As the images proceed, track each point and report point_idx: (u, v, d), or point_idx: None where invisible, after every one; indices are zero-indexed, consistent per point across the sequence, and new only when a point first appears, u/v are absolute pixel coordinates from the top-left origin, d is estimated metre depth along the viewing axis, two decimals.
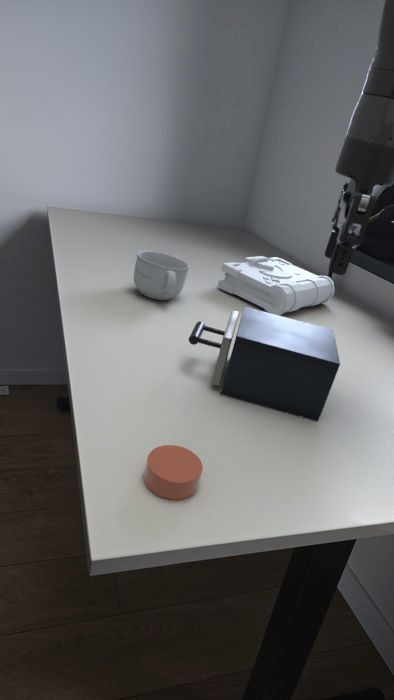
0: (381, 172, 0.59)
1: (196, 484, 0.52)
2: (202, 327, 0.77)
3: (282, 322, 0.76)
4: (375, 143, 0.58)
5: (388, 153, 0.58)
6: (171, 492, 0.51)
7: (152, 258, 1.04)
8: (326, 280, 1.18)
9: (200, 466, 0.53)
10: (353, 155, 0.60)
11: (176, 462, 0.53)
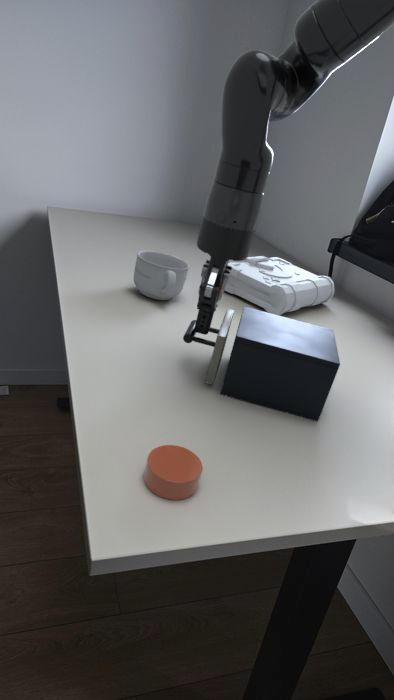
0: (230, 250, 0.66)
1: (196, 484, 0.52)
2: None
3: (282, 322, 0.76)
4: (222, 226, 0.65)
5: (234, 234, 0.65)
6: (171, 492, 0.51)
7: (152, 258, 1.04)
8: (326, 280, 1.18)
9: (200, 466, 0.53)
10: (206, 234, 0.66)
11: (176, 462, 0.53)
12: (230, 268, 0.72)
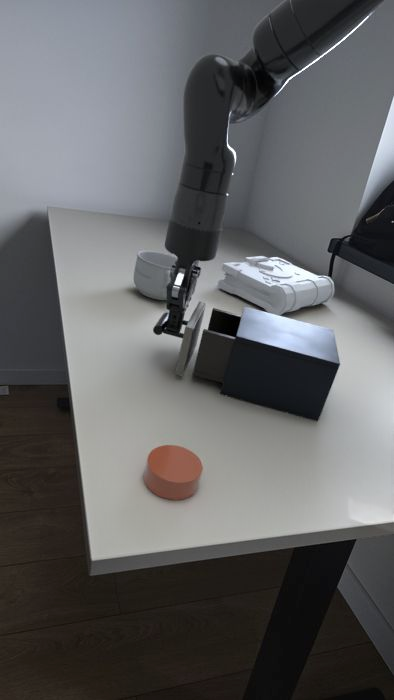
0: (196, 251, 0.67)
1: (196, 484, 0.52)
2: None
3: (282, 322, 0.76)
4: (187, 227, 0.66)
5: (199, 235, 0.66)
6: (171, 492, 0.51)
7: (152, 258, 1.04)
8: (326, 280, 1.18)
9: (200, 466, 0.53)
10: (172, 235, 0.67)
11: (176, 462, 0.53)
12: (199, 268, 0.72)
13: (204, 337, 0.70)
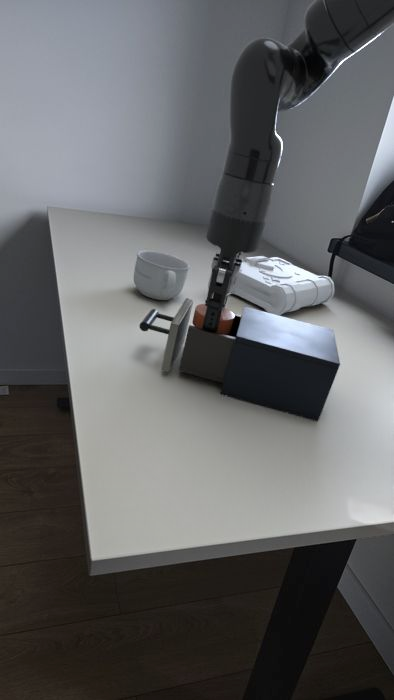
0: (240, 242, 0.65)
1: (230, 325, 0.73)
2: (155, 314, 0.77)
3: (282, 322, 0.76)
4: (232, 217, 0.64)
5: (244, 226, 0.65)
6: None
7: (152, 258, 1.04)
8: (326, 280, 1.18)
9: (233, 314, 0.74)
10: (215, 226, 0.66)
11: None
12: (240, 263, 0.71)
13: (190, 333, 0.70)
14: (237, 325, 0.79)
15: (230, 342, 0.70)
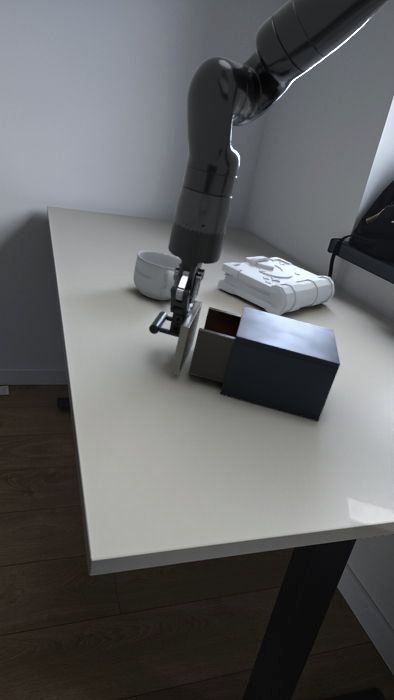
0: (199, 253, 0.67)
1: None
2: (164, 317, 0.77)
3: (282, 322, 0.76)
4: (191, 229, 0.66)
5: (203, 238, 0.66)
6: None
7: (152, 258, 1.04)
8: (326, 280, 1.18)
9: None
10: (176, 238, 0.67)
11: None
12: (202, 271, 0.72)
13: (200, 336, 0.70)
14: None
15: None
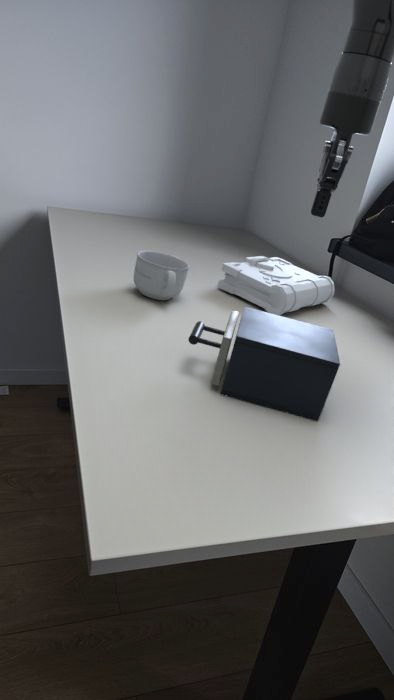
0: (358, 121, 0.69)
1: None
2: (202, 327, 0.77)
3: (282, 322, 0.76)
4: (353, 95, 0.67)
5: (364, 104, 0.68)
6: None
7: (152, 258, 1.04)
8: (326, 280, 1.18)
9: None
10: (334, 106, 0.69)
11: None
12: None
13: None
14: None
15: None
